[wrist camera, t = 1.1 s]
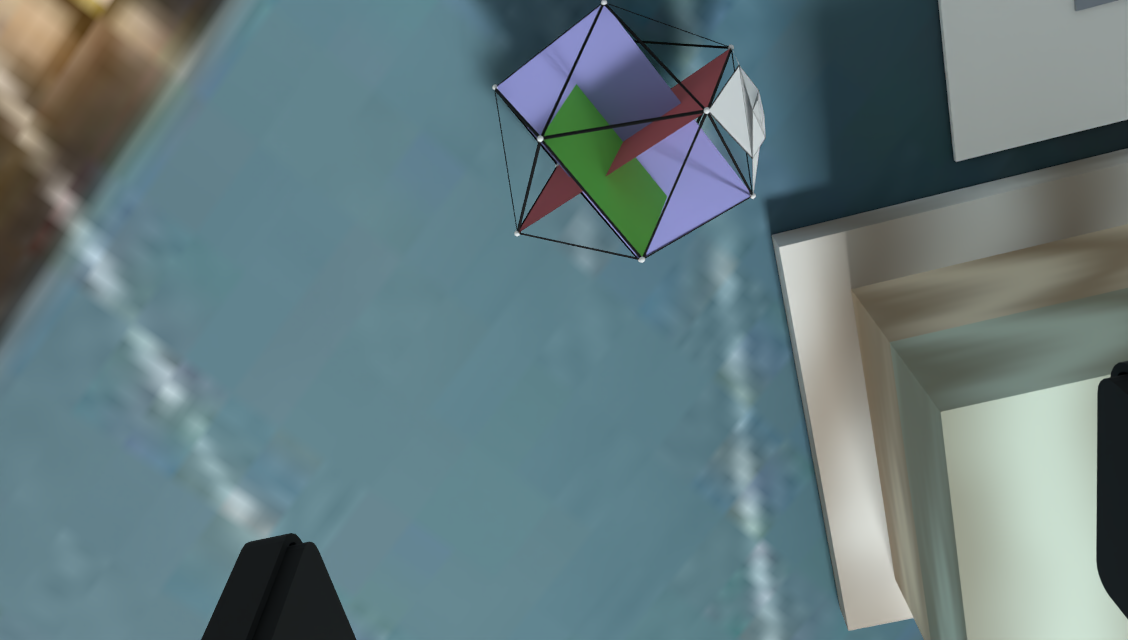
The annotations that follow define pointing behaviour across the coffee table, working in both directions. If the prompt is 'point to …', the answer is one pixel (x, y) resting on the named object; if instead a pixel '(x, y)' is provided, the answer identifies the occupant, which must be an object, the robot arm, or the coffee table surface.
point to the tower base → (834, 343)
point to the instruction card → (1032, 70)
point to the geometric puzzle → (632, 133)
